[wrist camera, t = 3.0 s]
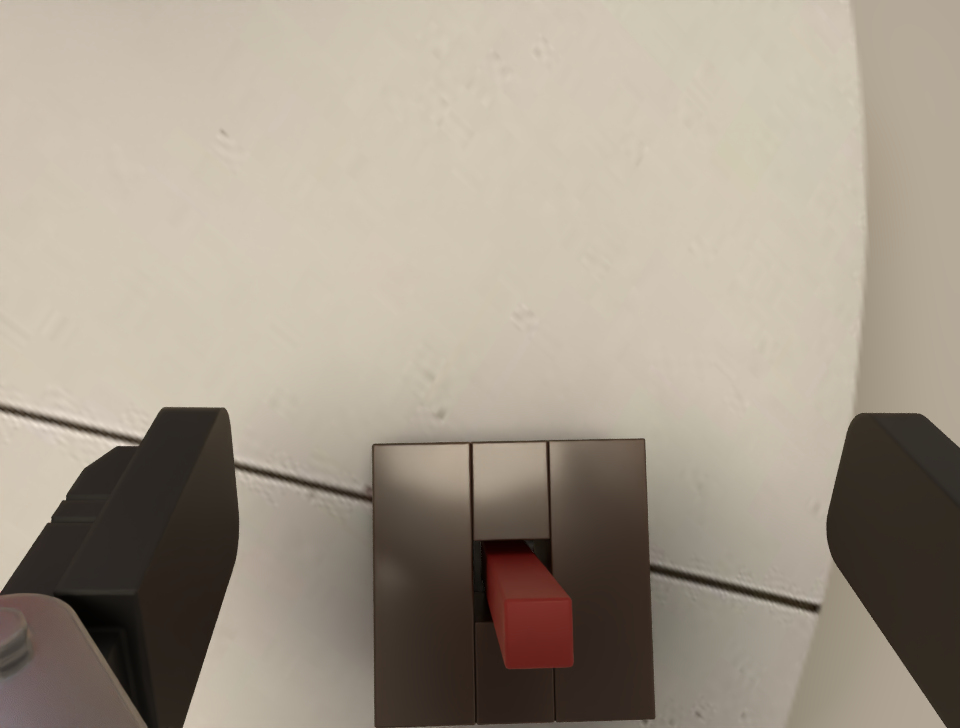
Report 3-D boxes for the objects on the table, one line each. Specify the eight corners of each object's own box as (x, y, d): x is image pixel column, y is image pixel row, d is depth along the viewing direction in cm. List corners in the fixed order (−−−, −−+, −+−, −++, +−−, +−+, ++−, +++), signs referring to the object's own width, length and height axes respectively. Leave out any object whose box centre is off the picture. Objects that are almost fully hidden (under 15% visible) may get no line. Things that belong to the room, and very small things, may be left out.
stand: (612, 439, 30) (645, 438, 25) (620, 673, 29) (655, 720, 24) (384, 444, 30) (372, 443, 25) (386, 680, 29) (374, 728, 24)
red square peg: (521, 536, 30) (572, 597, 18) (522, 578, 30) (574, 668, 18) (480, 537, 30) (503, 599, 18) (481, 579, 30) (504, 670, 18)
